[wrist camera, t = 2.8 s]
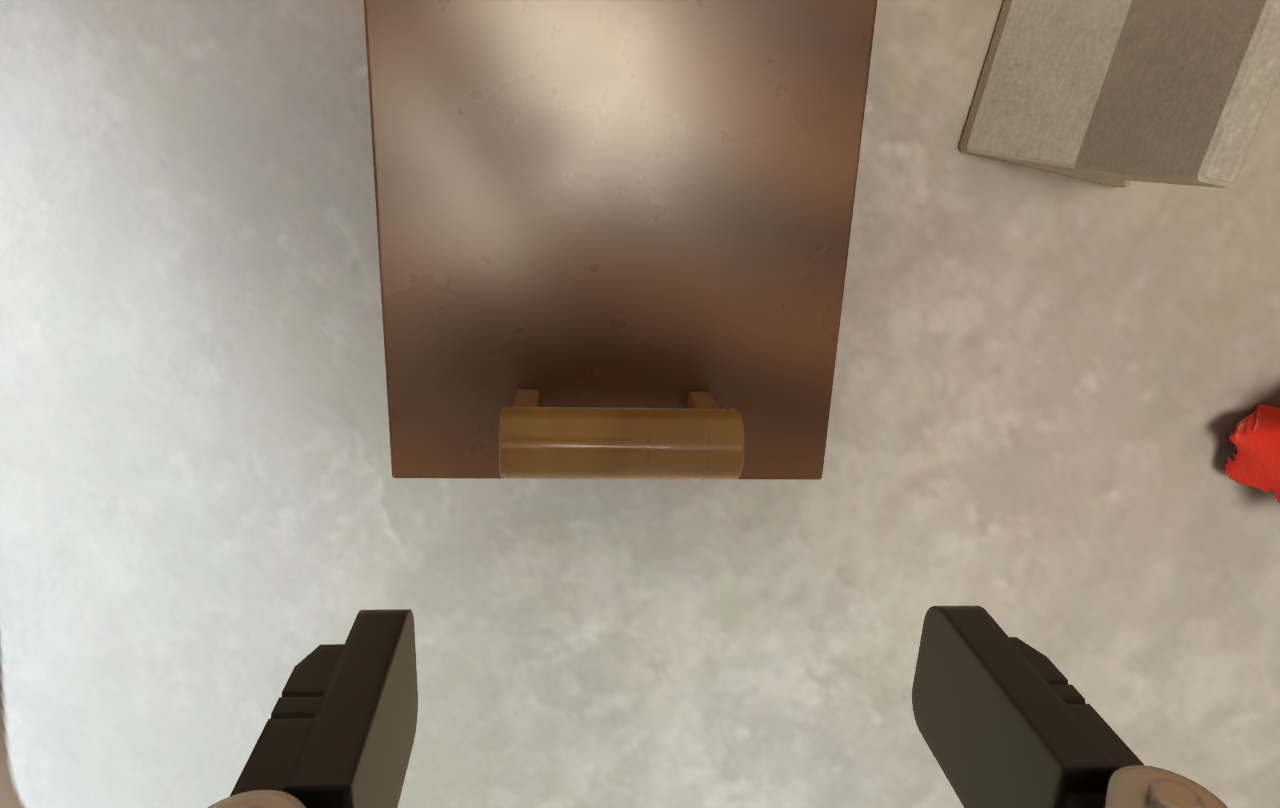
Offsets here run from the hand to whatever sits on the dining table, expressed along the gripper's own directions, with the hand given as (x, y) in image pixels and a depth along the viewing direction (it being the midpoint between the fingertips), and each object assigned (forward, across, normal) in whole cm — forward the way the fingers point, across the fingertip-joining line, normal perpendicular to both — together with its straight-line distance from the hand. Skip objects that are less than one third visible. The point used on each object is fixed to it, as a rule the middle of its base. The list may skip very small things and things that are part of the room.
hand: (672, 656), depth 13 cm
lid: (+13, 0, -6) cm, 14 cm away
